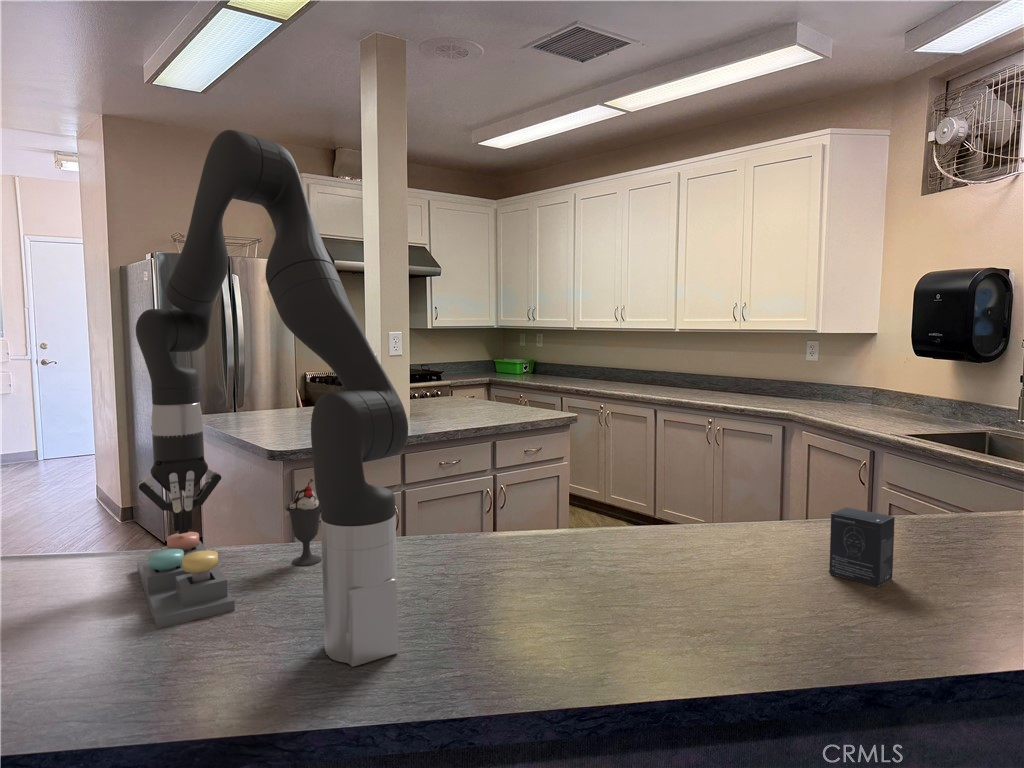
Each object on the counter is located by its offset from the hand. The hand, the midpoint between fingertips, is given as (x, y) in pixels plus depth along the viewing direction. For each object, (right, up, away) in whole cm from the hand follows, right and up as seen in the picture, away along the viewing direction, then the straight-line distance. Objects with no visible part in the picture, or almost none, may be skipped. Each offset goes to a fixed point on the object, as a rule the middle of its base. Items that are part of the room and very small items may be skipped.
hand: (183, 532), depth 109 cm
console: (+3, -7, -7) cm, 11 cm away
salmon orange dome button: (0, -5, 0) cm, 5 cm away
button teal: (+2, -6, -8) cm, 10 cm away
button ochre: (+9, -5, -13) cm, 16 cm away
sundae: (+19, -7, +6) cm, 21 cm away
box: (+112, -7, -2) cm, 113 cm away
